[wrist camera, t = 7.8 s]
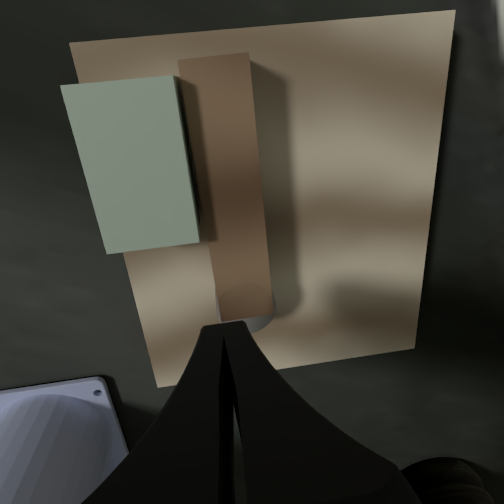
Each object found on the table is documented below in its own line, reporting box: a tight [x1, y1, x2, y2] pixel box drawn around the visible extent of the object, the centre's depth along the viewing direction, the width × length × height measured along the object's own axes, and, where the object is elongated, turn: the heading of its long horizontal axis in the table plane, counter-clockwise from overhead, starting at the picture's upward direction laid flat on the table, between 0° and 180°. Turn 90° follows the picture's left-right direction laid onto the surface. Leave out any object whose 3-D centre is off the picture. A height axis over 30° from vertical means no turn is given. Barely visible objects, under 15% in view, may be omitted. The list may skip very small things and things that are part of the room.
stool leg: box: [177, 52, 276, 333], centre depth 16 cm, size 12×3×2 cm, turn 6°
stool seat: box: [69, 10, 456, 388], centre depth 19 cm, size 18×16×2 cm
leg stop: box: [60, 75, 200, 254], centre depth 15 cm, size 6×4×3 cm, turn 5°
